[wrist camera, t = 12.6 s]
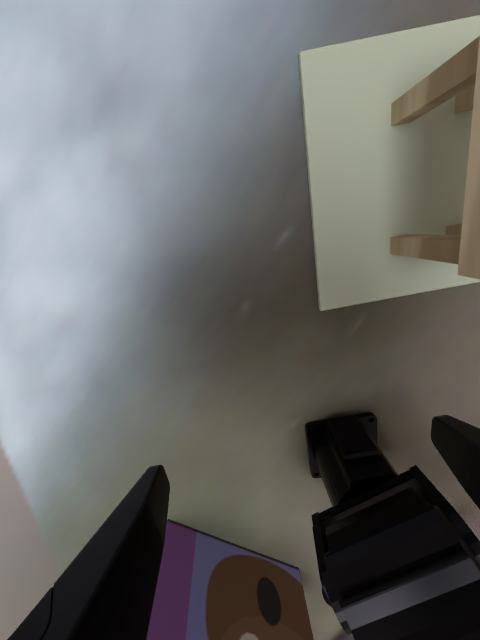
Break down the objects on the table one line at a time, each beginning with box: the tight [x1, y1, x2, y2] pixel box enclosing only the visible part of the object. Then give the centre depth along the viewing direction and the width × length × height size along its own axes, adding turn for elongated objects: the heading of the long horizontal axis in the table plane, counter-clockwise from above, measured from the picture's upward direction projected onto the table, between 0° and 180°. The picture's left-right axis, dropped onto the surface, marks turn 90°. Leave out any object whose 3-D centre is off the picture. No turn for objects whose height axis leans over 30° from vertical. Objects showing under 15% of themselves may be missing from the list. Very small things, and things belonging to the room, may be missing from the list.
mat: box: [298, 15, 480, 311], centre depth 18 cm, size 16×16×1 cm
